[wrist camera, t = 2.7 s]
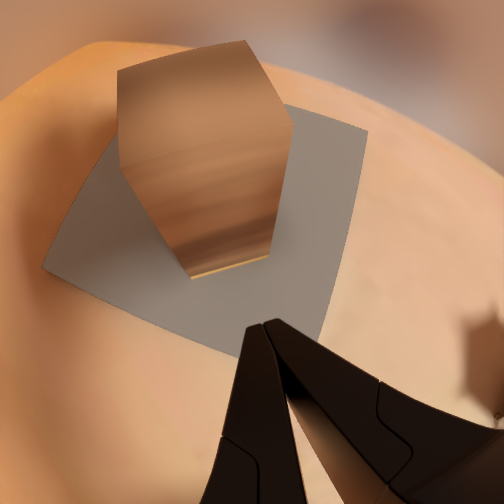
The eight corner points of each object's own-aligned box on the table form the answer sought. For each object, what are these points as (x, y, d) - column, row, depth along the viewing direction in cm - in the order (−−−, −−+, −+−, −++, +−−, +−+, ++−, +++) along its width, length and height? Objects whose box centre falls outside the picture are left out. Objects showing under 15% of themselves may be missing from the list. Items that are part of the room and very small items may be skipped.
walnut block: (268, 257, 20) (294, 124, 8) (191, 279, 19) (120, 168, 8) (245, 191, 21) (245, 40, 10) (175, 210, 21) (117, 70, 9)
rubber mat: (302, 378, 18) (304, 379, 17) (46, 270, 20) (41, 267, 19) (365, 136, 24) (367, 131, 23) (159, 85, 26) (158, 79, 25)
